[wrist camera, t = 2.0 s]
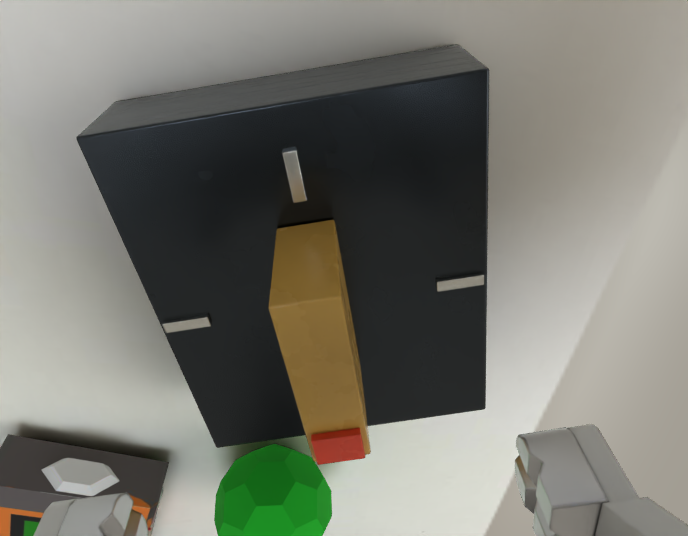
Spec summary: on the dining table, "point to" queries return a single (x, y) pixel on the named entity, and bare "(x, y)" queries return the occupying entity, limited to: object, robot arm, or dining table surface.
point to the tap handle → (319, 340)
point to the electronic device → (70, 480)
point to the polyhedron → (273, 495)
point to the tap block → (309, 207)
